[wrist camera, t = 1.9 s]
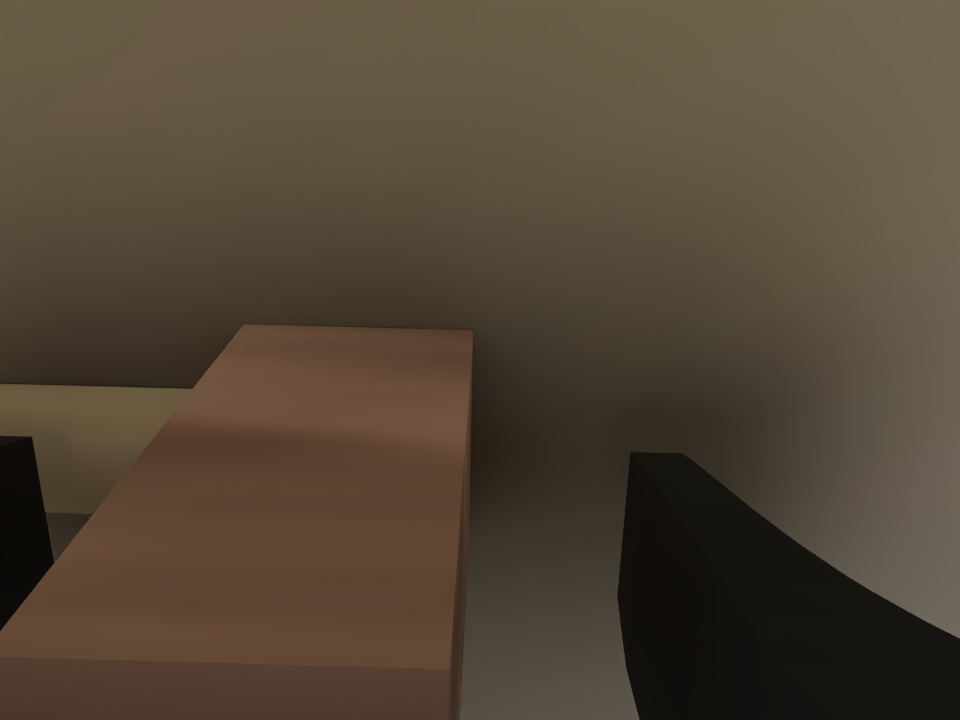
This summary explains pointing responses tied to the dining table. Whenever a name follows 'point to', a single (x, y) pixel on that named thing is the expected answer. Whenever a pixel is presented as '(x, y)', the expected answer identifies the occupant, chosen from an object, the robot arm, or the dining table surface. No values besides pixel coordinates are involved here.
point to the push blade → (254, 535)
